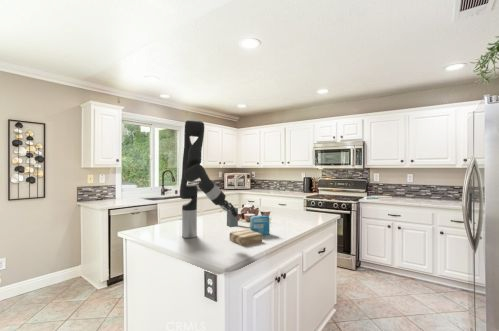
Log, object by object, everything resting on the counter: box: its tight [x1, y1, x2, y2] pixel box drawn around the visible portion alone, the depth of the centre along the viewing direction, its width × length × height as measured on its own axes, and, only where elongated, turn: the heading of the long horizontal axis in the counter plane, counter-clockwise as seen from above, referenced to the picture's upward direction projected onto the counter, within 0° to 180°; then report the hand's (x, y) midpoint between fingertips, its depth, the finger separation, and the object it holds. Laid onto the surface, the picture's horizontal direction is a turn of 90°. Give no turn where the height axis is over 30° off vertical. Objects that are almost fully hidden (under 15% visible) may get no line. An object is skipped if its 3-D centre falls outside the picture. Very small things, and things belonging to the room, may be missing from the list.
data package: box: [249, 215, 270, 236], centre depth 176 cm, size 12×4×12 cm, turn 108°
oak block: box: [229, 229, 263, 247], centre depth 160 cm, size 14×14×5 cm
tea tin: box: [226, 206, 239, 228], centre depth 148 cm, size 4×4×10 cm
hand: (234, 214), depth 148 cm, fingers closed on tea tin, 4 cm apart
